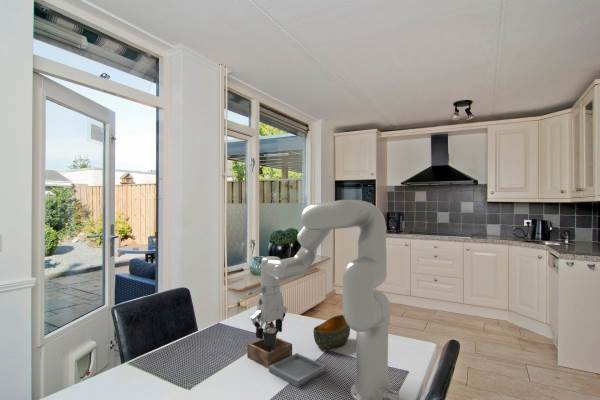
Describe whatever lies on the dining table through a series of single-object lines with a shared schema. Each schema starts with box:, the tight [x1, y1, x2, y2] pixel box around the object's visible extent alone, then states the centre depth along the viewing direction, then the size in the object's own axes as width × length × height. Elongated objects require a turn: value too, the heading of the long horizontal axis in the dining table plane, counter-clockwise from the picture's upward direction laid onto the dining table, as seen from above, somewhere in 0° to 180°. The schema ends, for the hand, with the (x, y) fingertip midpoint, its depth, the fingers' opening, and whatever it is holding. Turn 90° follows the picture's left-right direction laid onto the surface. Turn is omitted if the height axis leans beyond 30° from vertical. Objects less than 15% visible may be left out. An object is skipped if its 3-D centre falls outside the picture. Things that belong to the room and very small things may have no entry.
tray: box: [268, 352, 327, 388], centre depth 113 cm, size 14×14×2 cm
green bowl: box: [313, 314, 351, 351], centre depth 137 cm, size 13×20×10 cm, turn 104°
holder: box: [246, 336, 293, 369], centre depth 124 cm, size 12×12×5 cm
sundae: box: [263, 321, 280, 352], centre depth 124 cm, size 7×7×15 cm
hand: (269, 334), depth 124 cm, fingers open, 9 cm apart
